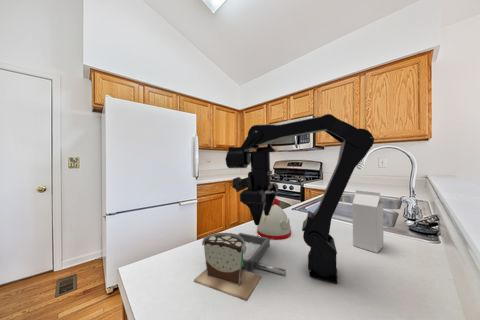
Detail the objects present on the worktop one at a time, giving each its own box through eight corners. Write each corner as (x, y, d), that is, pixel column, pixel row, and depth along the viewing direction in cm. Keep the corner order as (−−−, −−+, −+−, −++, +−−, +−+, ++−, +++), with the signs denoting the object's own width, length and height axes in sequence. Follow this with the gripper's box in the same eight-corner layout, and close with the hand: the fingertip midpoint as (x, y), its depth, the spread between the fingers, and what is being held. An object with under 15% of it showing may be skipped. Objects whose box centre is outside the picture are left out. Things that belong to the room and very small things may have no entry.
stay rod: (286, 273, 50) (285, 268, 50) (284, 276, 49) (284, 271, 49) (251, 264, 55) (251, 259, 54) (250, 267, 53) (249, 262, 53)
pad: (261, 277, 49) (261, 275, 49) (246, 300, 41) (246, 298, 41) (214, 263, 56) (214, 262, 56) (193, 281, 48) (193, 279, 48)
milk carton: (377, 253, 59) (376, 194, 59) (352, 245, 65) (352, 191, 65) (383, 246, 64) (383, 191, 64) (360, 239, 69) (359, 189, 69)
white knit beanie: (250, 232, 78) (249, 197, 78) (270, 224, 87) (270, 192, 87) (277, 243, 68) (276, 202, 68) (297, 232, 77) (297, 196, 77)
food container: (254, 273, 50) (253, 235, 50) (244, 287, 44) (244, 246, 44) (215, 262, 55) (214, 229, 55) (202, 274, 49) (201, 237, 49)
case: (269, 245, 66) (269, 238, 66) (250, 272, 51) (249, 263, 51) (240, 239, 72) (239, 232, 72) (213, 261, 56) (213, 253, 56)
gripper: (247, 166, 67) (249, 209, 68) (221, 170, 51) (223, 227, 51) (278, 166, 63) (279, 212, 63) (260, 170, 46) (262, 232, 46)
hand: (262, 219), depth 56 cm, fingers open, 9 cm apart
